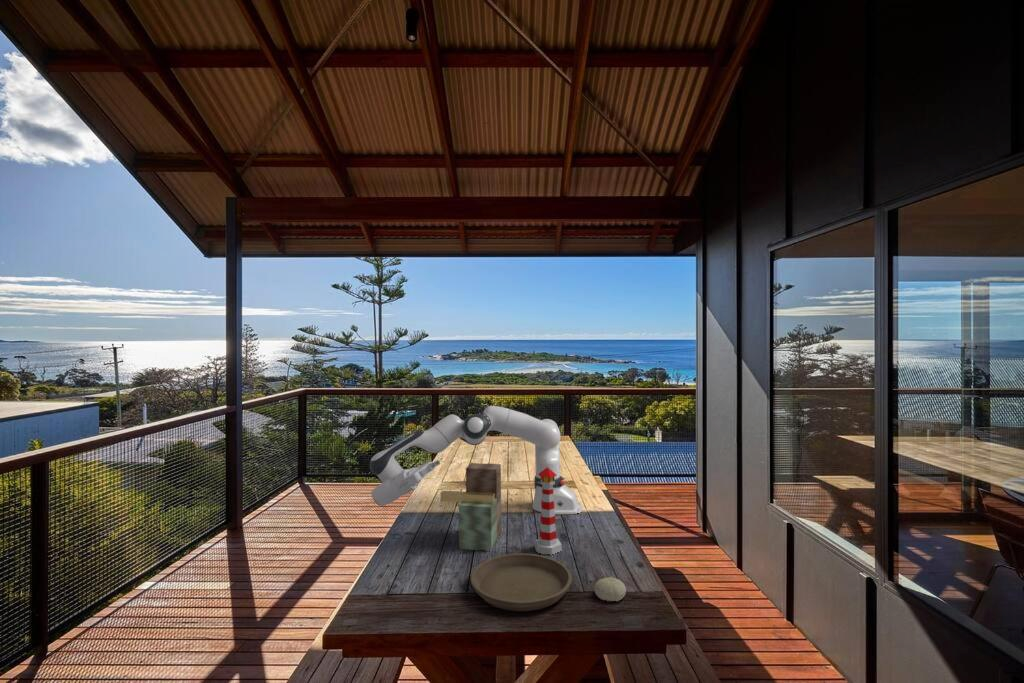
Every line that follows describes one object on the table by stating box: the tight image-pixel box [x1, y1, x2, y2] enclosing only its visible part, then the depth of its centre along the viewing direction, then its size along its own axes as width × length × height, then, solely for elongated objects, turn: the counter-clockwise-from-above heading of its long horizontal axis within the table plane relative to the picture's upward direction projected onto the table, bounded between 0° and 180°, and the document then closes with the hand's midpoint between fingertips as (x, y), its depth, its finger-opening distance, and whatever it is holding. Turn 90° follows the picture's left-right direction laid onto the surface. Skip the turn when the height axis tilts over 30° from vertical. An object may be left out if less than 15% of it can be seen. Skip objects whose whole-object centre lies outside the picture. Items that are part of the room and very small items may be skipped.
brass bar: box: [440, 490, 495, 504], centre depth 192 cm, size 20×3×3 cm, turn 80°
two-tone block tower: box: [458, 462, 502, 551], centre depth 196 cm, size 12×18×27 cm, turn 170°
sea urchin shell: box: [593, 576, 627, 602], centre depth 154 cm, size 9×8×8 cm
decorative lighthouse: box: [533, 467, 563, 556], centre depth 187 cm, size 10×9×30 cm
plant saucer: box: [470, 553, 573, 612], centre depth 159 cm, size 31×31×5 cm
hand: (435, 464), depth 206 cm, fingers open, 8 cm apart
